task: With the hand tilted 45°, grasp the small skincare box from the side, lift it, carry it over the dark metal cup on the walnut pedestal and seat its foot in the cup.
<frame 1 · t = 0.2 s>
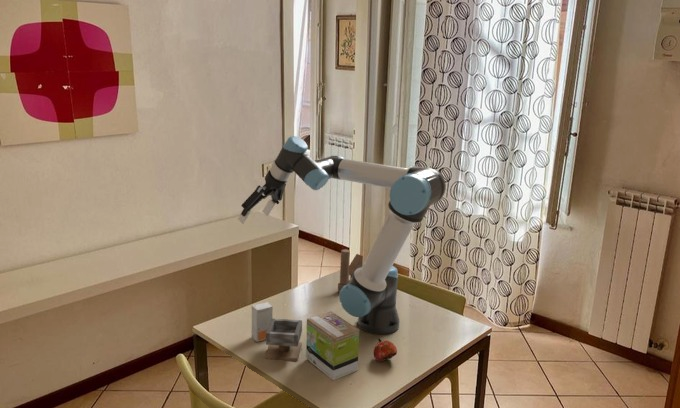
hand: (253, 217, 205), 35 cm above the table, tool tilted 35°, fingers open, 13 cm apart
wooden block: (349, 289, 231), on the table
red rounded piece: (384, 362, 178), on the table
tea box: (331, 366, 174), on the table
skincare box: (262, 338, 189), on the table
cup stand: (284, 351, 181), on the table
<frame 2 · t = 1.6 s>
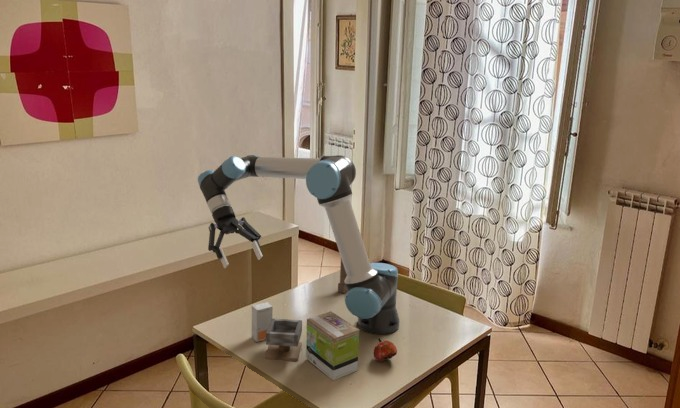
hand: (244, 262, 191), 24 cm above the table, tool tilted 45°, fingers open, 13 cm apart
nothing on the table moved.
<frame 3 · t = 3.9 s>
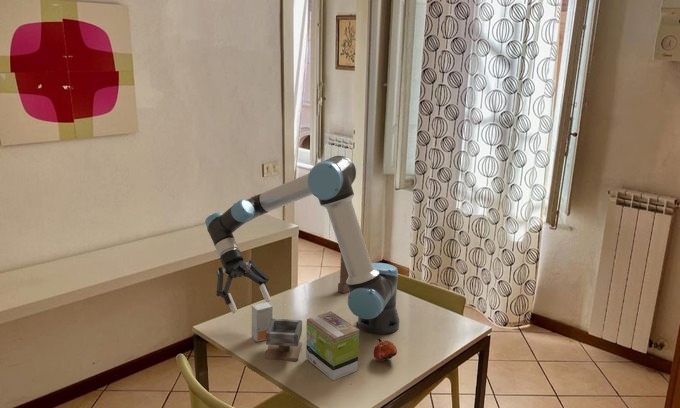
hand: (252, 306, 190), 10 cm above the table, tool tilted 45°, fingers open, 13 cm apart
nothing on the table moved.
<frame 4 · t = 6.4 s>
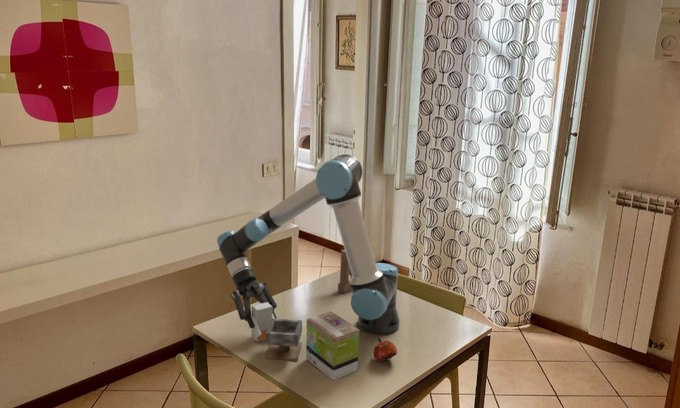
hand: (267, 332, 186), 3 cm above the table, tool tilted 45°, fingers closed on skincare box, 6 cm apart
skincare box: (262, 338, 189), on the table, touching gripper
everything else where it was.
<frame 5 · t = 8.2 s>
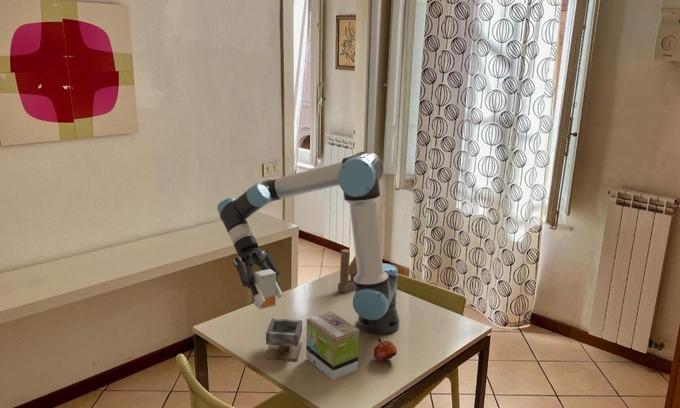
hand: (271, 299, 181), 16 cm above the table, tool tilted 45°, fingers closed on skincare box, 6 cm apart
skincare box: (265, 306, 185), point 13 cm above the table, touching gripper
everything else where it was.
when the fingers open (11 cm above the table, at t = 10.5 s): skincare box drops 1 cm, resting on cup stand.
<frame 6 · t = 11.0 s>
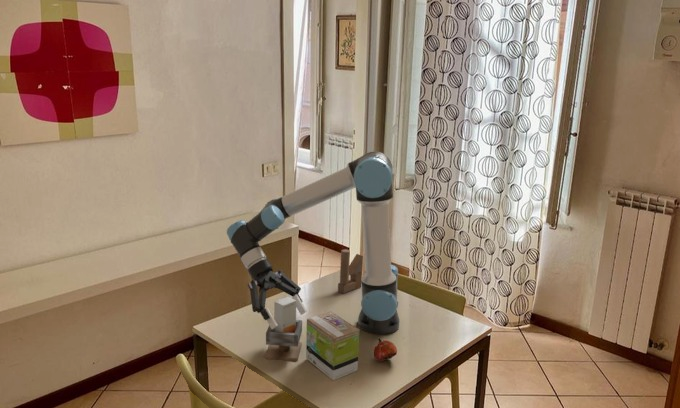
hand: (289, 320, 177), 12 cm above the table, tool tilted 45°, fingers open, 13 cm apart
skincare box: (285, 335, 180), point 6 cm above the table, touching cup stand
everything else where it was.
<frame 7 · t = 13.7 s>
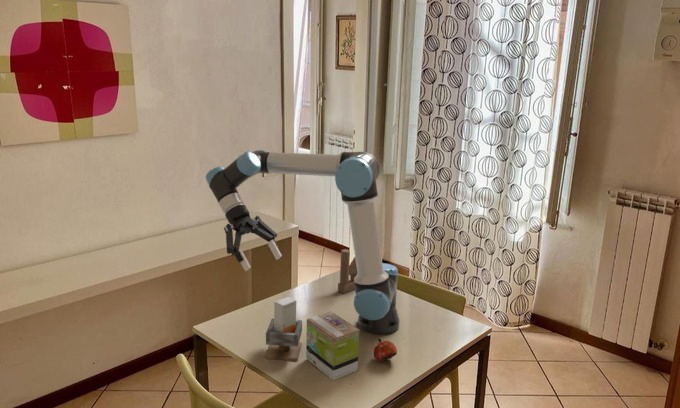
hand: (264, 263, 181), 28 cm above the table, tool tilted 45°, fingers open, 13 cm apart
nothing on the table moved.
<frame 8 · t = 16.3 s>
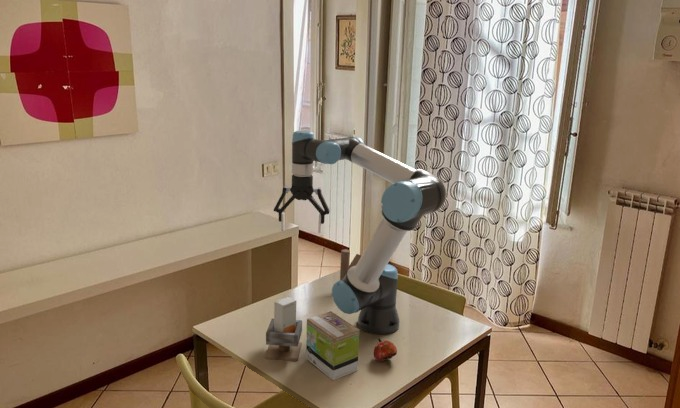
hand: (301, 231, 203), 32 cm above the table, tool pointing down, fingers open, 13 cm apart
nothing on the table moved.
at the end: skincare box inside the target area on the cup stand (0.3 cm from its centre), point 5.8 cm above the cup stand's base; skincare box tilted 0°; the gripper is holding nothing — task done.
